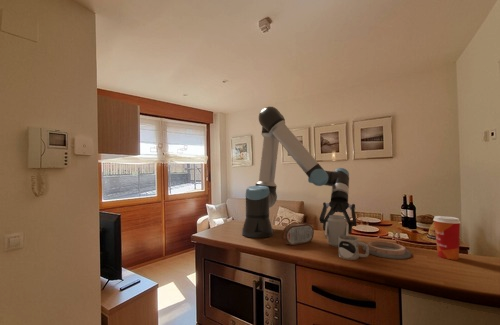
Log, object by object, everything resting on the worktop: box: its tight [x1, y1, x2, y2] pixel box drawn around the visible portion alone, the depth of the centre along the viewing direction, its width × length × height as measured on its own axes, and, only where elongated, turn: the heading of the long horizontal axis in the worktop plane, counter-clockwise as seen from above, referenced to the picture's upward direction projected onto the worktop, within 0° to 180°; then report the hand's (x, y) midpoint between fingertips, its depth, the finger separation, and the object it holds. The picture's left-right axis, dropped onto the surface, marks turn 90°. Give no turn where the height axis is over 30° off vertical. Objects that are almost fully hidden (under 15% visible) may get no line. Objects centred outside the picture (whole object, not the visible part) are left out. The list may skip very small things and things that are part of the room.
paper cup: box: [432, 215, 462, 261], centre depth 83 cm, size 8×8×14 cm
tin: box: [282, 222, 315, 246], centre depth 99 cm, size 15×3×8 cm, turn 115°
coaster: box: [361, 240, 412, 260], centre depth 89 cm, size 16×16×2 cm
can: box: [327, 214, 348, 248], centre depth 97 cm, size 8×8×12 cm
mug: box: [337, 235, 370, 261], centre depth 83 cm, size 10×7×7 cm, turn 56°
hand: (336, 238), depth 94 cm, fingers closed on can, 7 cm apart
